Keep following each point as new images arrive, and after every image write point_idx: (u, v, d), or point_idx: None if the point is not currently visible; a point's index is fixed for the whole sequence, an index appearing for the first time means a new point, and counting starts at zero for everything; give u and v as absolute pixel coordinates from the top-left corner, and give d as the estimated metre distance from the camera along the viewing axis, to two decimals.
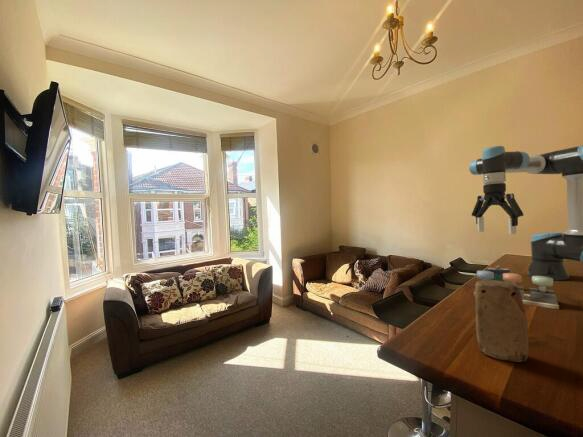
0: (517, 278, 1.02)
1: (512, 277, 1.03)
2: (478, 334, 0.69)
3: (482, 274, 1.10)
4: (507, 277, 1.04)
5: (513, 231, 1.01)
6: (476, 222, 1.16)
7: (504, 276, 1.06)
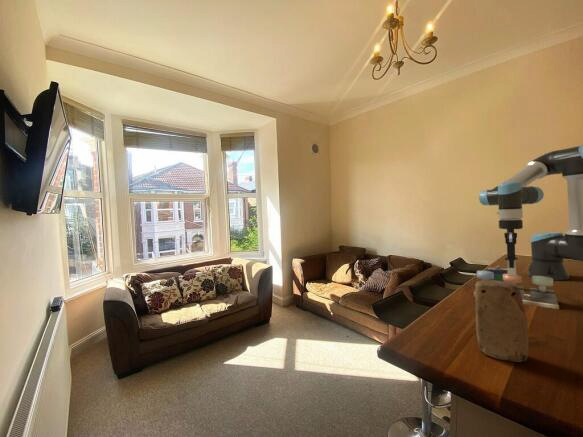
0: (517, 279, 1.02)
1: (512, 278, 1.03)
2: (478, 334, 0.69)
3: (482, 274, 1.10)
4: (507, 278, 1.04)
5: (511, 272, 1.05)
6: None
7: (504, 277, 1.06)
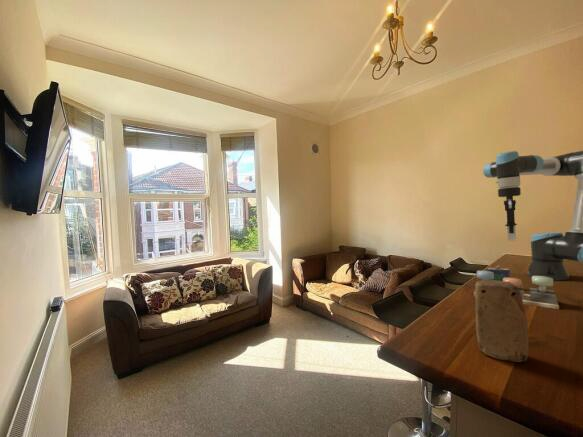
0: (517, 283, 1.03)
1: (512, 282, 1.03)
2: (478, 334, 0.69)
3: (482, 274, 1.10)
4: None
5: (511, 238, 1.11)
6: None
7: None
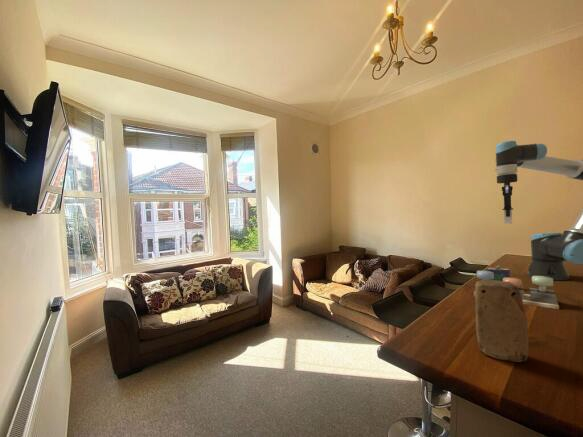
0: (517, 283, 1.03)
1: (512, 282, 1.03)
2: (478, 334, 0.69)
3: (482, 274, 1.10)
4: None
5: (508, 221, 1.20)
6: None
7: None
